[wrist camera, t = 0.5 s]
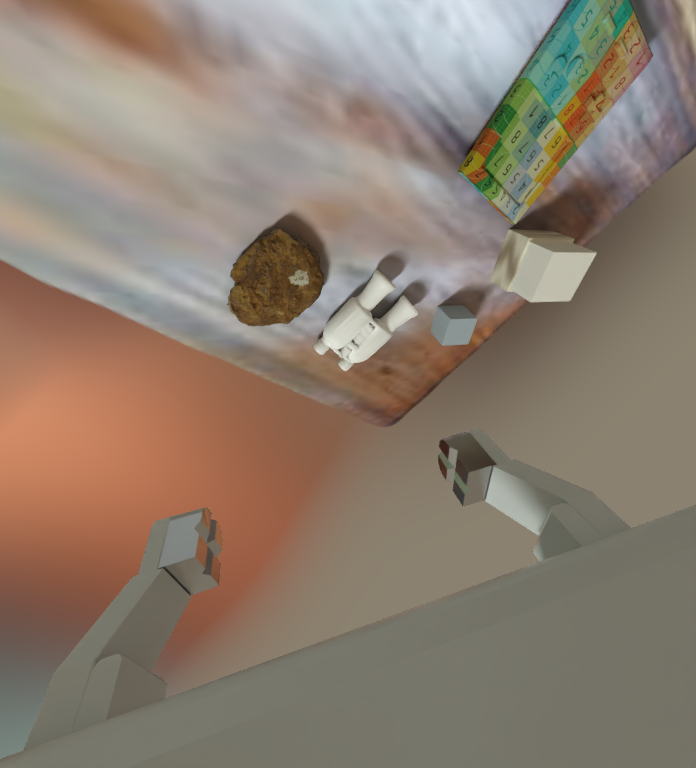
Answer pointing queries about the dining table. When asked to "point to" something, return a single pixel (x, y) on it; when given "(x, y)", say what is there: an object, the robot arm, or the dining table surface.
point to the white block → (551, 271)
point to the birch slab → (519, 253)
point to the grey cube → (453, 325)
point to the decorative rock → (275, 280)
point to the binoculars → (363, 323)
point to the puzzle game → (557, 102)
